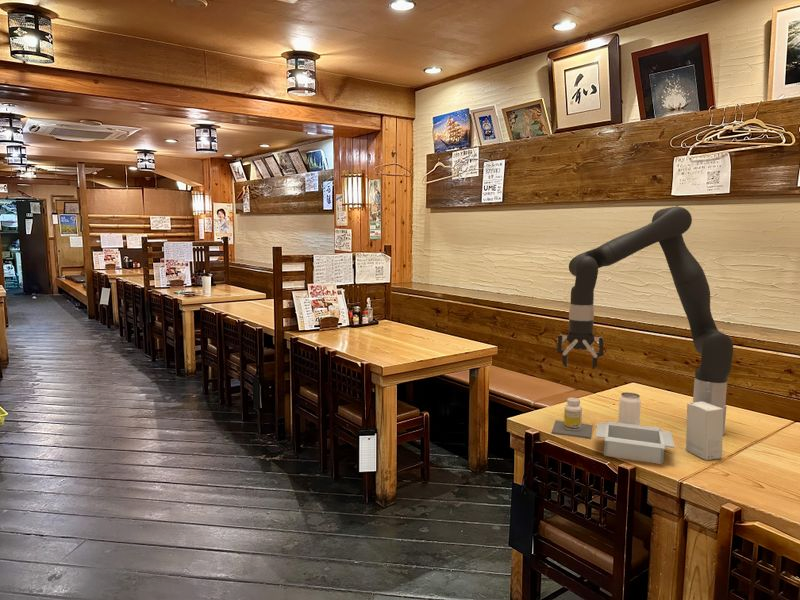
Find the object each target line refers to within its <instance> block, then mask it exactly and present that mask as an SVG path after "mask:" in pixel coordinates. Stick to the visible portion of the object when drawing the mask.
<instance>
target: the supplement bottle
mask: <svg viewBox="0 0 800 600" xmlns="http://www.w3.org/2000/svg"><path fill="white" fill-rule="evenodd" d="M566 403H567V404H566V405H565V406H564V416H563V417H564V418H563V419H564V420H563V421H564V428H565V429H567V430H571V431H578V430H580V429H581V424H582V419H583V418H582V416H583V414H582V413H583V408H582V406H581V405H580V404H581V400H580V398H577V397H568V398H566Z"/></svg>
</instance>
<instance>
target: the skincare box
mask: <svg viewBox="0 0 800 600" xmlns="http://www.w3.org/2000/svg"><path fill="white" fill-rule="evenodd" d="M686 405H687V406H686V430H685V431H686V435H685V436H686V438H685V451H687V452H688V453H691V454H693V455H695V456H697V457H699V458H701V459H703V460H705V461H710V460H722V459H723V440H724V439H723V436H724V435H723V408H720V407H717V406H714V405H711V404H708V403H705V402H694V403H693V402H687V404H686Z"/></svg>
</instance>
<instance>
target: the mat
mask: <svg viewBox="0 0 800 600" xmlns="http://www.w3.org/2000/svg"><path fill="white" fill-rule="evenodd" d="M593 427H594V425H593V424H587V423H581V429H580V430H578V431H571V430H567V429H565V428H564V420H555V421H554V424H553V426H552V429H551V433H550V434H552V435H560V436H567V437H575V438H582V439H587V440H588V439H589V440H591V439H592V433H593Z"/></svg>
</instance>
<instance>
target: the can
mask: <svg viewBox="0 0 800 600" xmlns="http://www.w3.org/2000/svg"><path fill="white" fill-rule="evenodd" d="M640 396H641V395H640V394H638V393H635V392H622V393H621V394H620V397H619V402H618V403H619V404H618V416H617V417H618V418H617V419H618V420H617V422H618V423H626V424H634V425H641V423H640V422H641V421H640V420H641V407H642V406H641V405H642V400H641V397H640Z"/></svg>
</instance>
